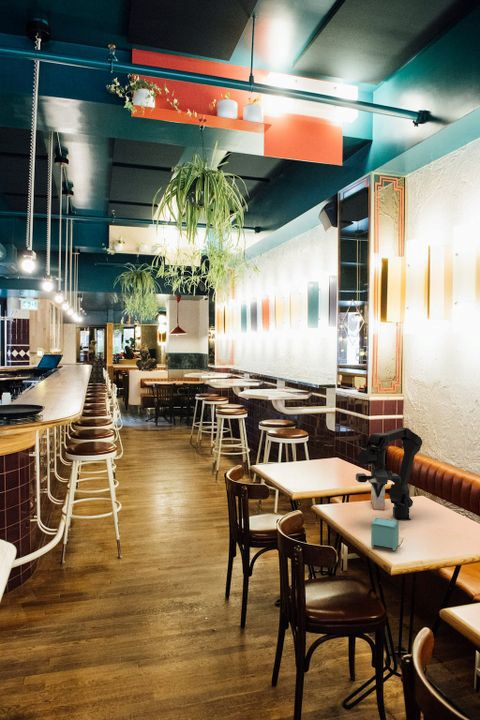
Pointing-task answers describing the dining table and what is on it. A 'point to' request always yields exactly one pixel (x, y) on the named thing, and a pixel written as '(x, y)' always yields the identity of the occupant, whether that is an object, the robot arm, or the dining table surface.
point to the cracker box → (378, 499)
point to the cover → (385, 533)
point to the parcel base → (400, 541)
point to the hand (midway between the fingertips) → (377, 497)
